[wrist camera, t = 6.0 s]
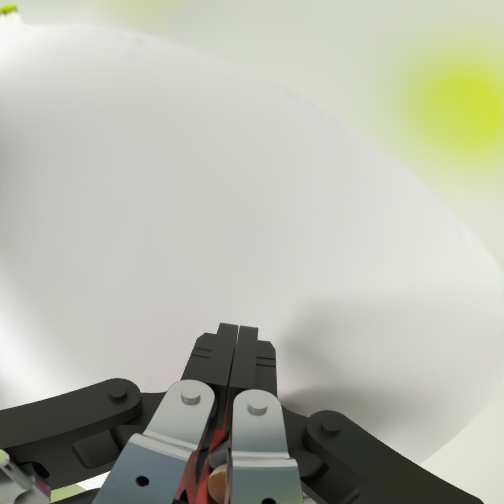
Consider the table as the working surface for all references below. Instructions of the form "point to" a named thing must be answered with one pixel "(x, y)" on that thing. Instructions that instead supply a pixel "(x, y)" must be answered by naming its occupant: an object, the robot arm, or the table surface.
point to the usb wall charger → (309, 501)
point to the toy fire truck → (215, 471)
